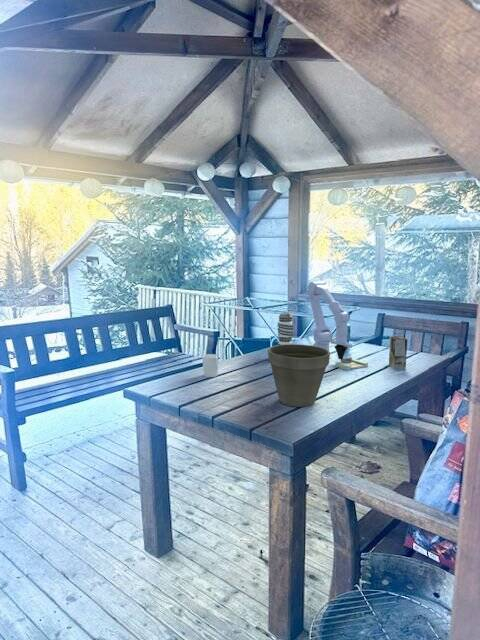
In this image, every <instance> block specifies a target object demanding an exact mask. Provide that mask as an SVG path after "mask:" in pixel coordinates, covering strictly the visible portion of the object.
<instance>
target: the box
mask: <svg viewBox="0 0 480 640" xmlns="http://www.w3.org/2000/svg"><path fill="white" fill-rule="evenodd" d="M352 362H356V363H359V364H363V365H365V367H364V368H367V367H369V362H366V361H364V360H360V359H357V358H355V359H352ZM335 367H336V368H339V369H341V370H345V371H350V370H351V371H352V370H353V369H350V367H352V366H351V365H348V364H344V363H341V361H338V362H335Z"/></svg>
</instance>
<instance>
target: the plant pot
mask: <svg viewBox="0 0 480 640" xmlns="http://www.w3.org/2000/svg"><path fill="white" fill-rule="evenodd" d="M267 349H268V350H267V359H268V363H269V364H270V365H271V366H270V367H271V371H272V376H273V379H274V384H275V388H276V392H277V398H278V400H279V402H280V403H281V404H283V405H285V406H287V407H296V408H304V407H310V406H312V405H314V404H315V402H316V400H317V397H318V394H319V390H320V387H321V386H322V385H321V384H322V382H323V379H324V376H325V372H326V368H327V367H328V366H329V364H330V359H329V358H330V357H331V352H330V350H329V351H328V350H326V349H324V348H321V347H316V346H313V345H309V344H297V343H296V344H294V343H292V344H286V345H278V344H277V345H274V346H271V347H269V348H267Z"/></svg>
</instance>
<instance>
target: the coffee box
mask: <svg viewBox="0 0 480 640" xmlns="http://www.w3.org/2000/svg"><path fill="white" fill-rule="evenodd" d="M389 337H390V338H389V355H388V356H389V357H388V366H389V367H391V368H392V369H393V370H407V369H406V368H407V366H406V365H407V351H408V350H407V349H408V338H405V337H404V336H400V335H399V336H397V335H395V336H389Z"/></svg>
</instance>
